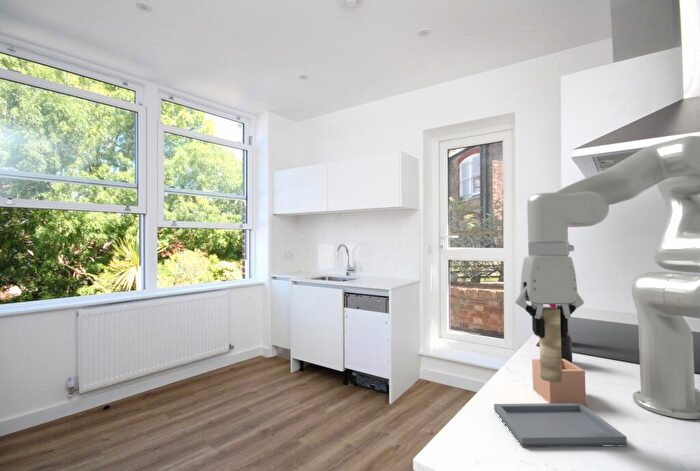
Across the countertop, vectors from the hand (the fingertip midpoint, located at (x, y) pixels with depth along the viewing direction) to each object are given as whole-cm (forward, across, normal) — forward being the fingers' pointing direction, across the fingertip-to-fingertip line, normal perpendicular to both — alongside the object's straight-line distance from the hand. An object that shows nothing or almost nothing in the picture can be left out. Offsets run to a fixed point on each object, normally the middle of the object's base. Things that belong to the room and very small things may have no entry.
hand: (550, 335), depth 75 cm
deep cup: (+20, -9, -15) cm, 26 cm away
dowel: (+9, 0, 0) cm, 9 cm away
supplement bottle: (+20, -23, -39) cm, 49 cm away
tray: (+20, 0, 0) cm, 20 cm away
